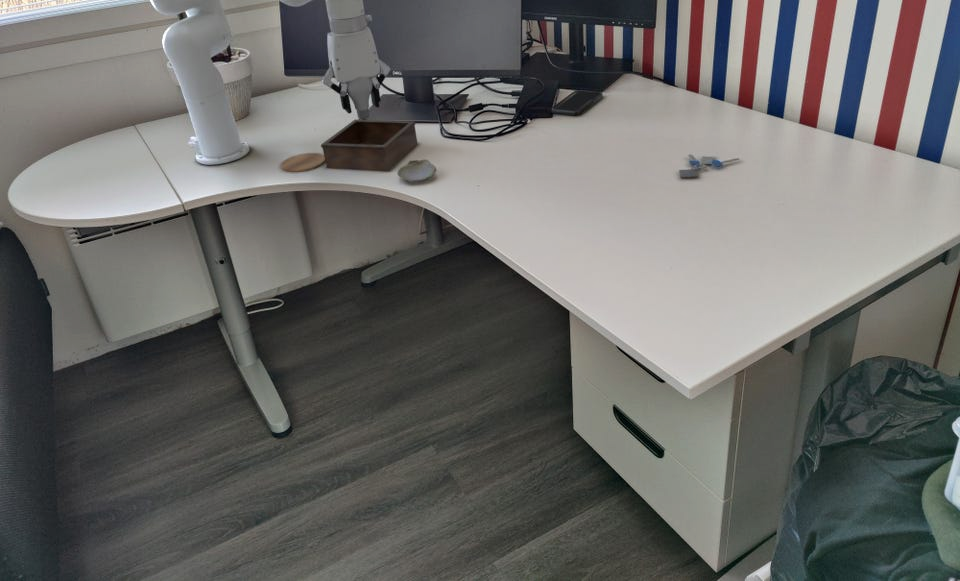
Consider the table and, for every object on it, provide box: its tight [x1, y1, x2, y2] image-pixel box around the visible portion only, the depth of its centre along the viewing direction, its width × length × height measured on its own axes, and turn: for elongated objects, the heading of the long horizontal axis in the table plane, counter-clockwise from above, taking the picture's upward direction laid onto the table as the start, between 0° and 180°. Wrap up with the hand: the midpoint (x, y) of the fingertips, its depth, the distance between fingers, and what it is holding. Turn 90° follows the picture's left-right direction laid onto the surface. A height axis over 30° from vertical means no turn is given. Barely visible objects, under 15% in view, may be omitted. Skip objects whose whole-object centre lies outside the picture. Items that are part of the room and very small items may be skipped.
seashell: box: [397, 159, 437, 183], centre depth 156 cm, size 8×3×8 cm
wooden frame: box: [320, 119, 418, 172], centre depth 168 cm, size 16×16×6 cm
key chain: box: [678, 154, 740, 178], centre depth 147 cm, size 14×8×1 cm, turn 121°
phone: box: [551, 89, 603, 117], centre depth 185 cm, size 8×1×15 cm
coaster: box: [280, 152, 326, 173], centre depth 170 cm, size 10×10×1 cm
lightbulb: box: [346, 77, 372, 120], centre depth 162 cm, size 6×6×11 cm
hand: (362, 107), depth 164 cm, fingers closed on lightbulb, 5 cm apart
